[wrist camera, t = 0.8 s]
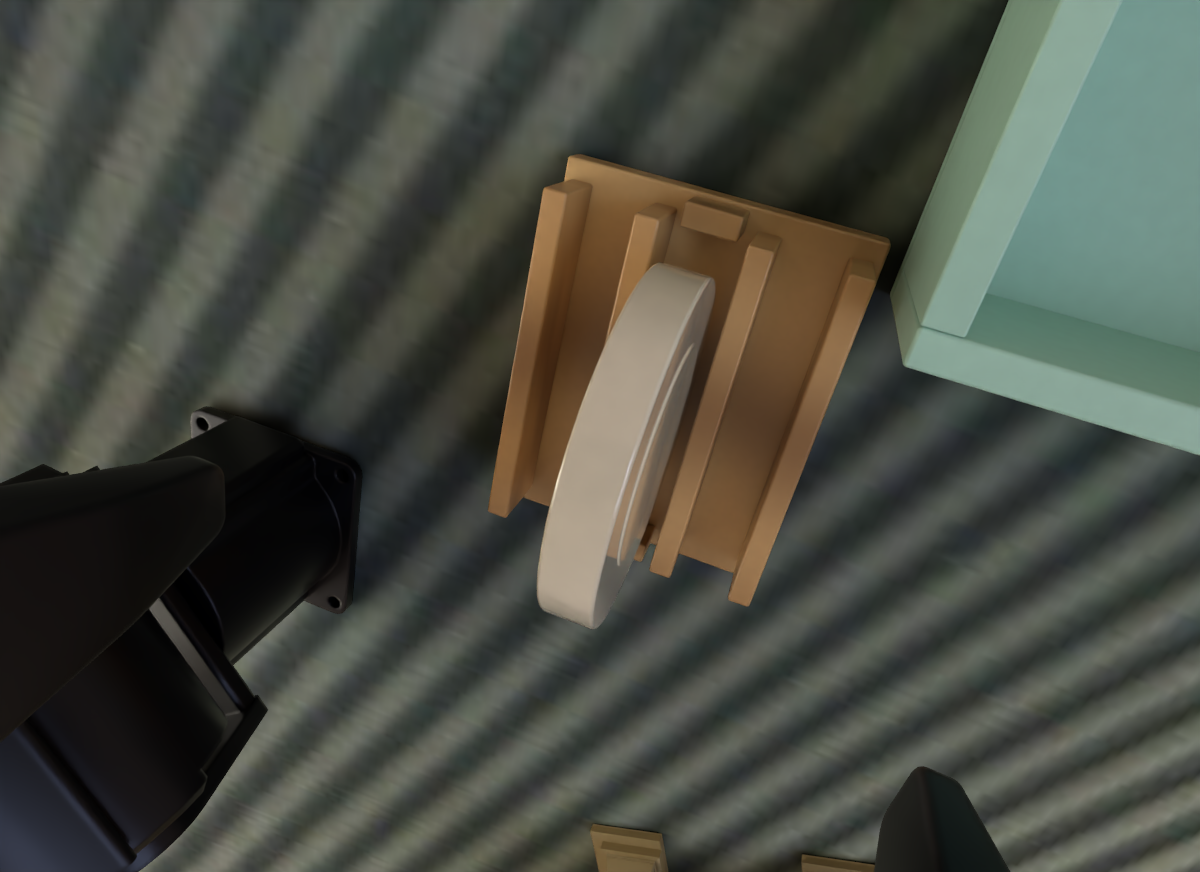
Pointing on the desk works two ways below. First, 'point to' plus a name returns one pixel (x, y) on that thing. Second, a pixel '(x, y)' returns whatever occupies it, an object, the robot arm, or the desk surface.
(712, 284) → the plate
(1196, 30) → the mint green open box
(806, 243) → the dish rack
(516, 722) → the desk surface
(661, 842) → the eiffel tower
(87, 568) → the robot arm
